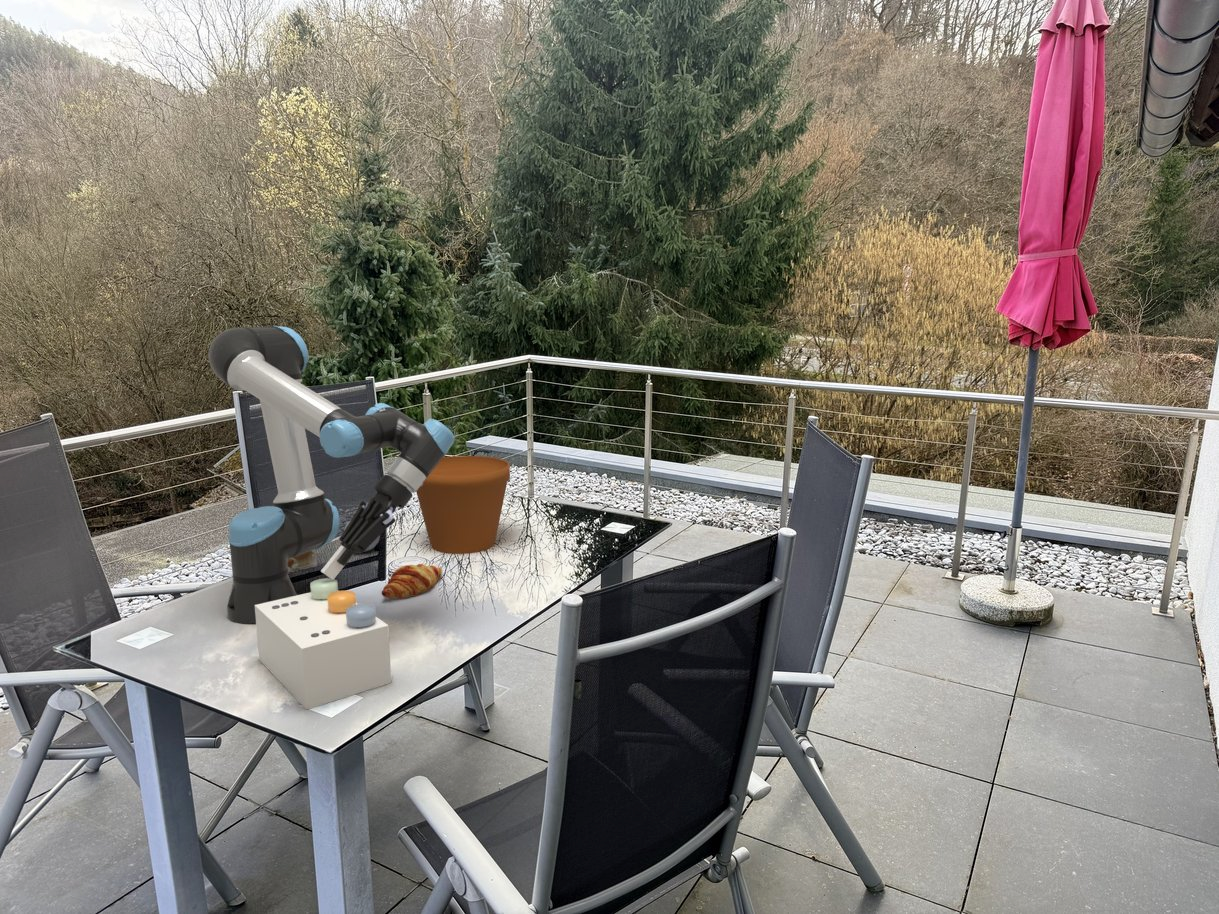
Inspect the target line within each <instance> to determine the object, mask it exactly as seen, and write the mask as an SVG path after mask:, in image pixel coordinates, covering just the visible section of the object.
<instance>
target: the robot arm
mask: <svg viewBox="0 0 1219 914" xmlns="http://www.w3.org/2000/svg"><path fill="white" fill-rule="evenodd" d="M208 362H209V366H210V368H211V370H212V372H213V373H214V374H215V375H216V376H217V378H219V380H221V381H222V382H223V383H224V384H226V385H227V386H229V387H231V388H232V389H233V390H236V391H246V392H248V394H250V395H252V396H254V397H255V398H257V399H259V404H260V408H261V412H262V417H263V422H264V428H265V433H266V437H267V442H268V448H269V453H270V460H271V463H272V467H273V473H274V479H275V483H276V487H277V488H276V489H277V494H276V496H275V498H274V499H273V501H272V502H273V503H272V504H273V505H267V506H259V507H257V508H256V507H253V508H250V509H246V510H244V511H241V512H239V513H237V514H236V515H234V516H233V517H232V518H231V519H230V520H229V524H228V542H229V551H230V558H231V559H230V560H231V561H230V562H231V563H230V564H231V572H232V586H231V590H230V594H229V596H228V601H227V605H226V611H227V613H226V614H227V617H228V620H230V621H232V622H235V623H238V624H240V623H241V624H256V616H255V605H257V604H262V603H266V602H270V601H275V600H279V599H283V598H288V597H292V596H297V595H298V593H297V592H296V590H295V587H294V585H293V582H292V581H291V579H290V576H289V573H288V565H287V559H290V558H292V557H295V556H298V555H300V554H303V553H306V552H309V551H311V550H316V551H317V550H319V549H321V548H323V547H324V546H327V545H329V544H330V543H331V542H332V541H333V540H335V537H336V536H337V535H338V532H339V529H340V524H341V523H340V514H339V511H338V508H337V507H336V505H334V503H333V501H332V500H330V499H328V498H326V497H325V492H324V491H323V490H322V489H320V488H318V487H317V485H316V480H315V475H314V469H313V464H312V460H311V454H310V449H309V444H308V438H307V433H306V430H307V431H308V432H311V434H314V435H315V436H317V437H318V438H319V444H320V446H321V448H323V450H324V452H325V454H326V455H328V456H330V457H331V458H335V459H336V458H338V459H339V458H348V457H353V456H356V455H359V454H363V453H367V452H371V451H374V450H375V451H376V450H379V449H383V448H387V447H391V448H393V449H394V450H396V451H398V452H399V453H400V454H399V455H398V456H397V457H396V459H395V460H394V461H393V462H392V464H390V466H389V468H387V470H386V474H383V475H382V476H381V477H380V479H379V480H378V481H377V483H375V485H374V490H375V491H376V492H377V493H376V494H375V495H374V496H373V497H371V498H370V500H369V502H365V501H364V500H362V501H360V503H359V505H358V507H357V510H356V512H355V514H354V515H353V516H352V518H351V520H349V521H350V523H349V524H348V526H347V527H346V529H345V528H344V529H345V530H344V529H343V532H342V533H341V535H340V537H339V539H338V540H339V541H340V546H339V547H338V549H337V550H336V551H335V552H334V554H333V555H332V556H331V557H330V559H329V560H328V561H327V562H326V564H325V565H324V566H323V567H322V569H321V570H320V572H321V573H322V574H324V575H325V576H327V578H331V579H332V580H334V579H335V578H336V577H337V575H339V573H340V572H341V571H342V569H343V568H344V567H345V566H346V565H347V563H348V562H349V561H350V560H351V559H352V556H353V555H357V554H358V553H359V554H360V555H361V554H363V553H364V551H365V550H366V549H367V548H368V547H369V546H370V545H371V544H372V543H373V542H374V541H375V540H376V539H377V538H378V536H379V535H380V536H381V535H382V534H383V533H384V531H385V530H387V528H389V527H390V526H392V525H393V524H394V523H395V522H396V519H395V517H393V514H394V513H395V511H396V509H397V508H400V509H403V508H405V507H406V505H408V503H409V502H410V501H411V499H412V498H413V493H416V491H417V490H418V488H419V487H420V486H422V485H423V482H424V481H425V479H426V478H427V477H428V476H429V474H430V473H431V472H432V470H433V469H434V468H435V467H436V465H437V464H438V463H439V462H440V461H441V459H442V458H443V457H446V456H447V453H448V451H449V450H451V447H452V446H453V445H454V444H455V439H456V438H455V435H454V433H453V432H452V431H451V429H450V428H448V427H447V426H446V425H445V424H443V423H442V422H440V421H439V420H437V419H435V418H429V419H428V420H426V422H424V423H420V422H418V421H416V420H414V419H413V418H411V417H410V416H408V415H406V414H405V413H403V412H402V411H400V410H398V408H396V407H394V406H390V405H389V404H386V403H385V402H384V403H383V402H379V403H378V402H377V403H376V404H374V406H373V407H372V406H370V408H369V409H368V410H367V411H366V413H365V415H360V416H355V415H353V414H351V413H349V412H348V411H346V410H344V409H343V408H341V407H339V406H337V404H335V403H333V402H331V401H330V400H328V399H326V398H325V397H323V396H322V395H320V394H318V393H317V392H315V391H314V390H312V389H310V388H309V387H308V386H306V385H304V384H303V383H302V381H303V378H302V372H304V371H305V369H306V368H307V364H308V362H309V351H308V348H307V344H306V343H305V341H304V339H303V337H302V336H301V335H300V334H299V333H298V332H296V331H295V330H294V329H292V328H290V327H287V326H277V325H269V326H253V327H232V328H229V329H225V330H223V331H222V332H220V333H218V334H217V335H216V336H215V337H214V338H213V340H212V341H211V344H210V347H209V349H208Z"/></svg>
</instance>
